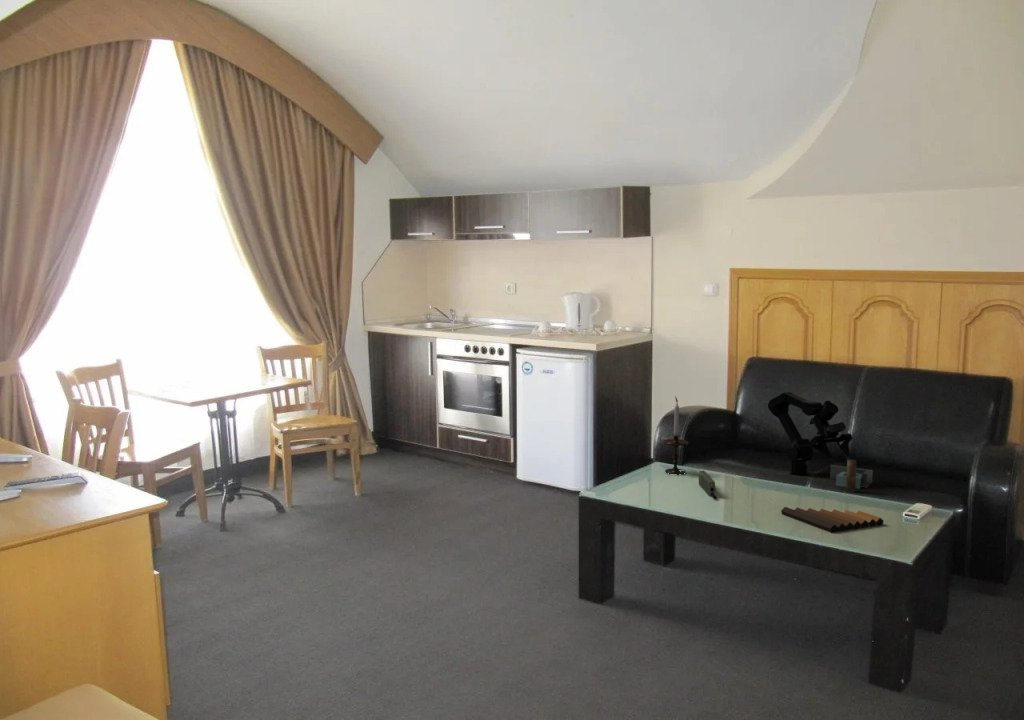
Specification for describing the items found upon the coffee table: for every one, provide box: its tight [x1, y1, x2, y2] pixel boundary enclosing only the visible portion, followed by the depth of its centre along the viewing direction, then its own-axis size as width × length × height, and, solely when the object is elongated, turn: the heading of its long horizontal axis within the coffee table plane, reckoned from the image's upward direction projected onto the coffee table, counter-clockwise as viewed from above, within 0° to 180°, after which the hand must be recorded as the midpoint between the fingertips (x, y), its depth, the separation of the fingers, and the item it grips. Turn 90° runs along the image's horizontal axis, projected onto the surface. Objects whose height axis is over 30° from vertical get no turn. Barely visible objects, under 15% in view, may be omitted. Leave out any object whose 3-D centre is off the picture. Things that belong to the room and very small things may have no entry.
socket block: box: [835, 472, 862, 489], centre depth 370 cm, size 10×10×4 cm
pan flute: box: [780, 506, 884, 534], centre depth 318 cm, size 25×3×25 cm
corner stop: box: [829, 464, 874, 487], centre depth 372 cm, size 17×10×6 cm, turn 55°
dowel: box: [845, 459, 858, 494], centre depth 358 cm, size 4×4×13 cm
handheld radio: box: [698, 470, 718, 500], centre depth 356 cm, size 7×3×25 cm
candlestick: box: [663, 395, 689, 475], centre depth 389 cm, size 11×11×35 cm
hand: (840, 457), depth 364 cm, fingers open, 9 cm apart
